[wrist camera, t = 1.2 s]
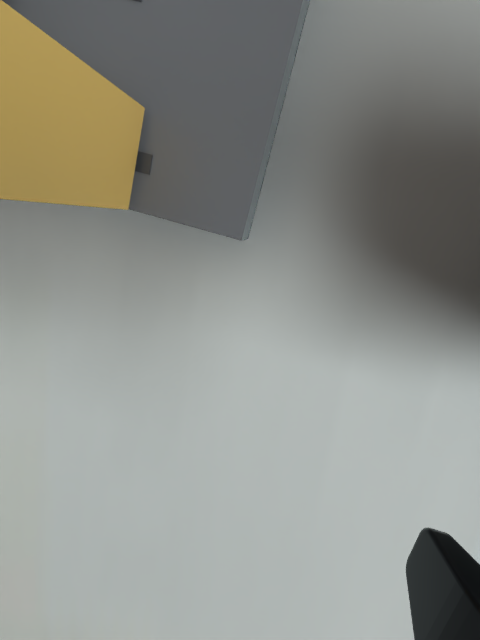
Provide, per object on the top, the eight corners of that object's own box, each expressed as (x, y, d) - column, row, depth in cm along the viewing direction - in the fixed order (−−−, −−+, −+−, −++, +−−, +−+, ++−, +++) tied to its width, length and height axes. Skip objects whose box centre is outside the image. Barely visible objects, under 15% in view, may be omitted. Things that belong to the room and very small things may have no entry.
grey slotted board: (323, -52, 14) (327, -98, 12) (247, 238, 18) (241, 240, 16) (-43, -128, 16) (-93, -180, 14) (-51, 156, 19) (-92, 148, 17)
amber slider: (144, 107, 15) (-26, -20, 7) (128, 209, 16) (-34, 196, 8) (75, 90, 15) (-163, -52, 7) (63, 191, 16) (-153, 162, 8)
